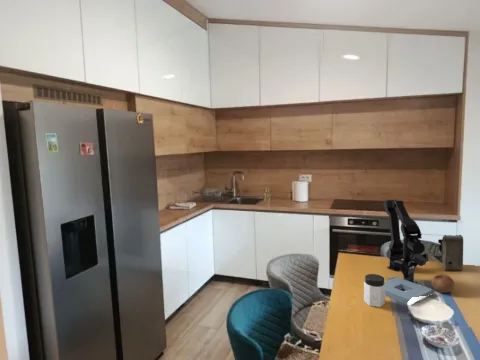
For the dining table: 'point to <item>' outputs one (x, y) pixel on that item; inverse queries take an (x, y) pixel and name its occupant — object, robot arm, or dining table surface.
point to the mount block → (414, 289)
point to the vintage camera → (451, 252)
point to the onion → (443, 283)
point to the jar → (374, 290)
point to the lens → (410, 273)
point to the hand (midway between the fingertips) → (408, 276)
